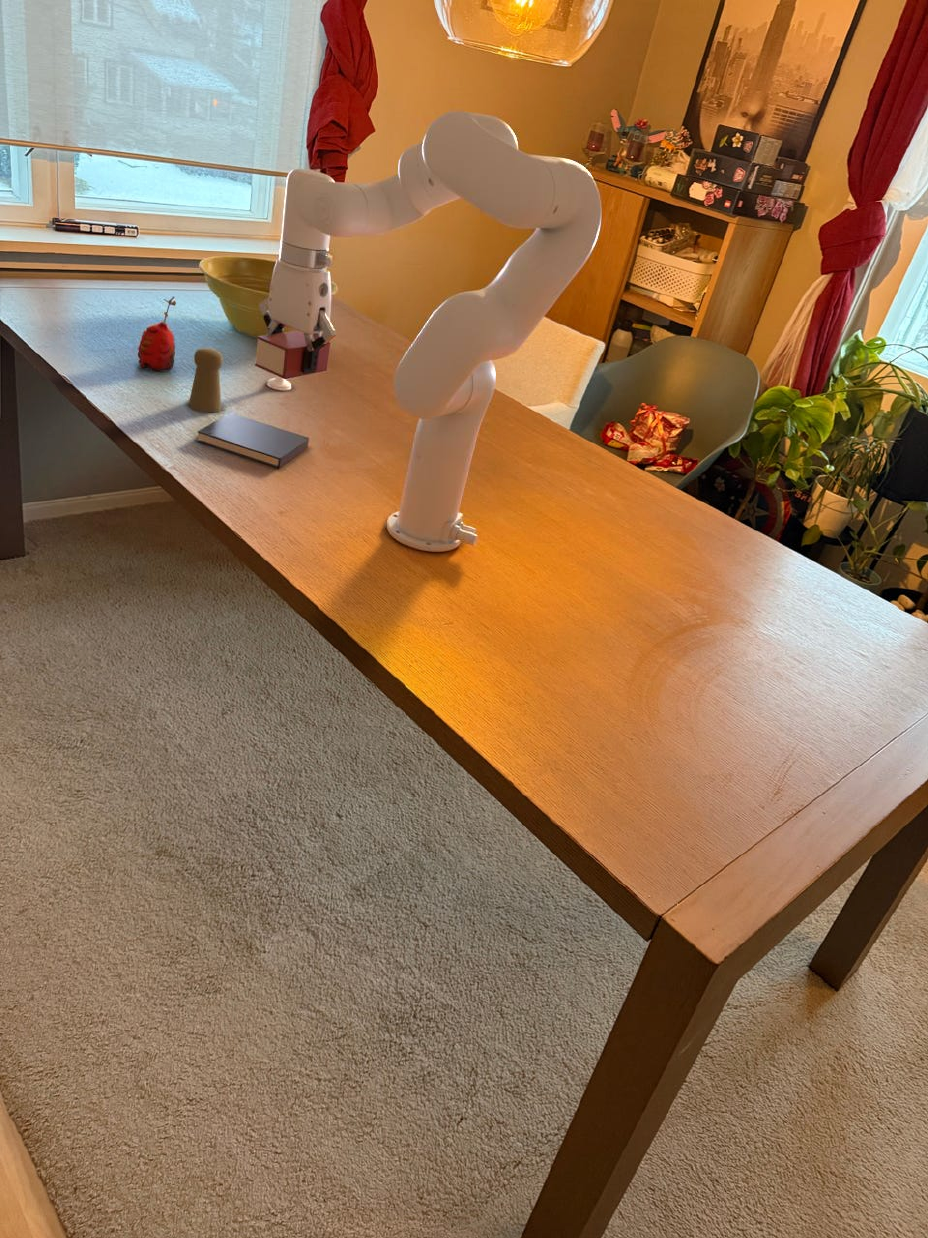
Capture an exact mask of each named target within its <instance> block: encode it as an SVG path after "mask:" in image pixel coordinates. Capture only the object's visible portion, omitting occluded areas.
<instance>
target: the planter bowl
mask: <svg viewBox="0 0 928 1238" xmlns="http://www.w3.org/2000/svg"><path fill="white" fill-rule="evenodd" d="M276 261H277V260H271V259H267V258H260V257H251V256H241V255H240V256H239V255H220V256H219V255H218V256H212V257H207V258H204V259H202V260H201V261H200V262H199V263H198V268H199V269H200V271H201V272H202V273H203V275H204V278H205V281H206V284H207V286H208V288H209V290H210V291H211V292H212V293H213V294H214V295H215V296H216V297H217V298H218V299H219V300H218V301H219V304H220V305H221V309H222V310H223V312H224V315H225V316H226V319H227V321H228V322H229V323H230V325H231V326H233V327H234V328H235V329H236V330H237V331H239V332H240V333H241V334H244V335H247V336H250V337H254V338H257V336H263V335H270V334H268V332H267V328H268V327H267V325H266V323H265V321H264V316H263V315H262V312H261V310H260V308H259V304H260V303H261V302H263V301H264V300H265V299H267V298H268V297H269V293H270V286H271V281H272V276H273V271H274V268H275V264H276ZM338 292H339V287H338V286H337V284H336V283H335V282H334V281H332V280H331V298H333V296H334V295H337V294H338ZM290 331H296V329H293V328H291V327H289V326H286V327H285V329H284V330H283V332H290ZM283 332H282V333H283Z"/></svg>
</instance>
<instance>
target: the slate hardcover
mask: <svg viewBox="0 0 928 1238" xmlns="http://www.w3.org/2000/svg"><path fill="white" fill-rule="evenodd" d="M197 433H198V439H196V442H197V443H200V444H203V445H206V446H208V447H212V448H214V449H219V450H221V451H224V452H227V453H230V454H234V455H236V456H240V457H242V458H244V459H248V460H251V461H254V462H257V463H261V464H264V465H267V466H270V467H272V468H276V469H282V468H283V467H284V466H285V465H286V464H288V463H289V462H291V461H292V460H293V459H295V458H296V457H298V456H299V455H300V454H301V453H303V452H304V451H306V450H307V449H308V448H309V442H310V437H308V436H305V435H301V434H298V433H295V432H292V431H289V430H286V429H283V428H279V427H276V426H273V425H271V424H268V423H265V422H262V421H259V420H255V419H253V418H249V417H246V416H243V415H239V414H236V413H233V412H231V411H230V412H229V413H227V414H225V415H223V416H222V417H220V418H218V419H216V420H214V421H213V422H211V423H210V424H207V425H206V426H204V427H202V428H200V429H199V430H197Z"/></svg>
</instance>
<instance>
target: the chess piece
mask: <svg viewBox="0 0 928 1238" xmlns="http://www.w3.org/2000/svg"><path fill="white" fill-rule="evenodd" d="M266 385H267V386H268V387H269V388H272V389H274V390H277V391H289V390H291V389H292V383H291V382H290V381H288V380H287V379H283V378H281V377H279V376H277V375H275V376H274V378H269V379H268V380H267V384H266Z"/></svg>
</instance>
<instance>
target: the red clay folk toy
mask: <svg viewBox="0 0 928 1238" xmlns="http://www.w3.org/2000/svg"><path fill="white" fill-rule="evenodd" d="M175 298H176V297H175V296H172V297H171V298H170V299H169V300H167V299H166V298H163V300H164V301H165V302H167V303H168V306H167V309H166V311H164V312H163V314H164V319H163V321H160V322H159V323H154V324H151V325H148V326H146V328H145V329H144V331H143V333H142V335H141V339H140V342H139V345H138V347H137V350H138V351H137V358H138V364H139V368H141V369H145V370H146V369H148V370H150V371H153V372H166V371H169V370H172V369H173V368H174V365H175V355H176V352H175V351H176V350H175V349H176V343H175V337H174V334H173V332H172V330H171V329H170V328H169V327H168V324H167V322H166V321H167V318H168V317H169V314H168V313H169V309H170V306H176V305H177V302H176V300H174V299H175Z"/></svg>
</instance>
